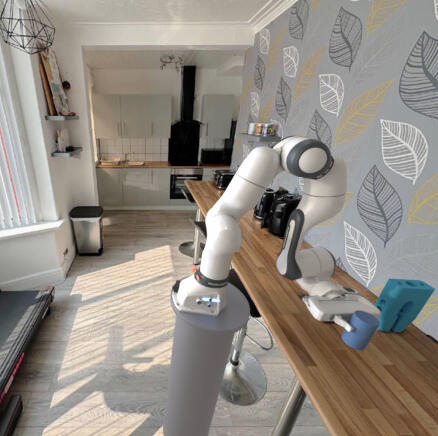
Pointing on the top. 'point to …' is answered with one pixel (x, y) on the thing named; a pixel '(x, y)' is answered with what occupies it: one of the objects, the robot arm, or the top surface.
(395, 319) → the block
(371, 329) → the cylinder block
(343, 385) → the top surface
